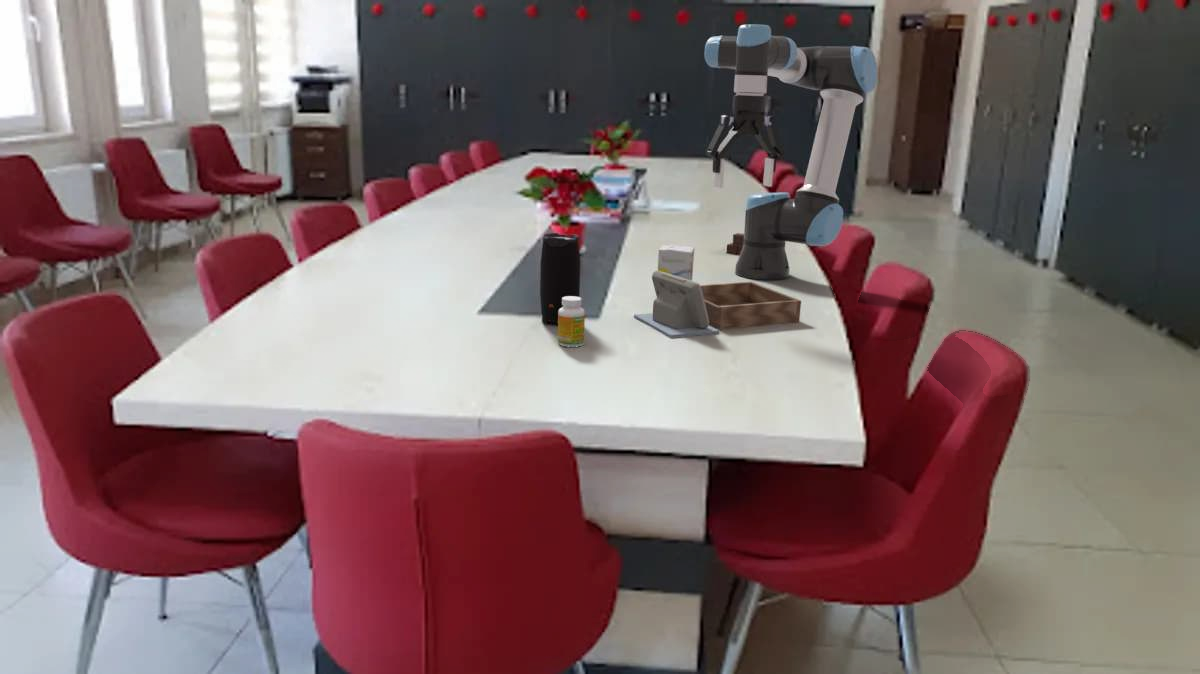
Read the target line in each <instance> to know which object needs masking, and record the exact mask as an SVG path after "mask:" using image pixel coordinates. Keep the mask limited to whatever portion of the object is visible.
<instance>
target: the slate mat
mask: <svg viewBox="0 0 1200 674" xmlns="http://www.w3.org/2000/svg"><path fill="white" fill-rule="evenodd" d="M633 318H635V319H636V320H638V321H640V322H641V323H642V324H645V325H647V326H649V327H650V328H652V329H654V330H655V331H657V332H659V333H661V334H662V335H665V336H666V337H668V338H670V339H672V338H671V337H674V338H682V337H681V336H685V337H692V336H693V337H694V336H704V335H717V334H720V329H715V328H713V327H711V326H709V325H708V327H707V328H699V327H696V326H695V327H688V328H681V329H676V328H673V327H670V326H668V325H665V324H663V323H660V322H657V321H655V320H653V312H651V313H642V314H641V313H640V314H633Z"/></svg>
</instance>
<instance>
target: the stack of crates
mask: <svg viewBox="0 0 1200 674" xmlns="http://www.w3.org/2000/svg"><path fill="white" fill-rule="evenodd" d="M732 235H733V236H732V242H731V243H728V244H726V254H728V255H729V254H730V255H738V256H740V254H741V251H742V249H743V244H744V233H737V232H736V233H734V234H732Z"/></svg>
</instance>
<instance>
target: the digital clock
mask: <svg viewBox="0 0 1200 674" xmlns="http://www.w3.org/2000/svg"><path fill="white" fill-rule="evenodd" d="M651 280H652V284H653V286H654V292H655V295H656V298H655V299H654V300H653V305H652V313H653V320H655V321H657V322H660V323H663V324H665V325H668V326H670V327H673V328H676V329H681V328H688V327H695V326H696V327H699V328H707V327H708V325H709V318H708V314H707V310H706V306H705V301H704V297H703V293H702V289H701V286H700V285H701V284H700V283H699V282H696V281H693V280H692V281H691V280H687V279H684V278H681V277H678V276H675V275H671V274H668V273H665V272H661V271H658V270H655V271H654V272H652V274H651Z"/></svg>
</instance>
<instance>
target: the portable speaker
mask: <svg viewBox="0 0 1200 674" xmlns="http://www.w3.org/2000/svg"><path fill="white" fill-rule="evenodd" d="M579 241H580V237H579V235H578V234H576V233H571V234H563V233H562V234H561V233H560V234H559V233H558V232H548V233H545V234H544V235H543V237H542V245H541V254H540V263H539V264H540V273H539V274H540V276H539V277H540V279H539V281H540V282H539V297H540V308H541V309H540V311H541V322H542V323H543V324H544V323H547V324H548V322H551V323H556V324H558V311H559V309H560V308H562V307H563V305H562V298H563V297H566V296H576V297H581V295H580V293H581V292H580V291H581V288H580V287H581V284H580V283H581V256H580V245H579V244H580V243H579Z"/></svg>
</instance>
